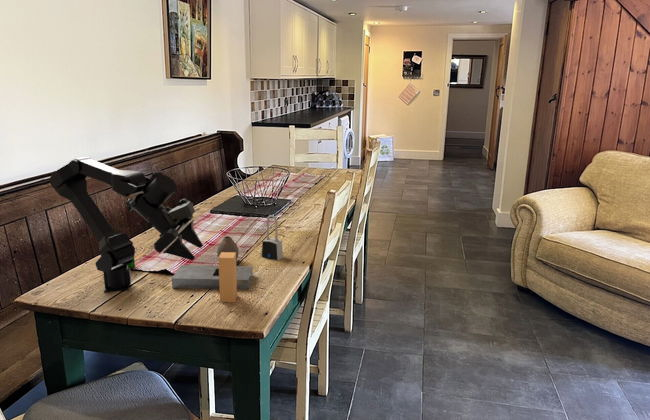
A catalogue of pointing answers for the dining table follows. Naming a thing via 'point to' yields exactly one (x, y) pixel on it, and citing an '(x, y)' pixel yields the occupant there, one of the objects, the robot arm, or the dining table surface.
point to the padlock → (272, 244)
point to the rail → (208, 277)
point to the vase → (227, 246)
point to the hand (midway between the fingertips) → (197, 252)
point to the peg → (227, 277)
